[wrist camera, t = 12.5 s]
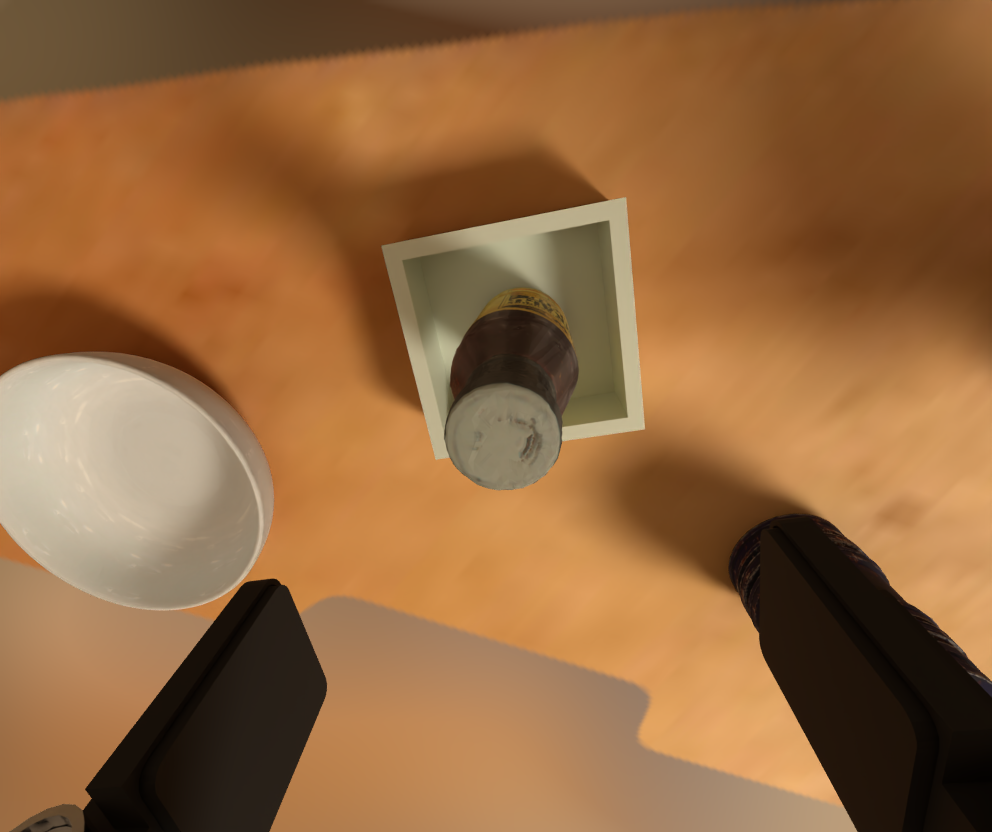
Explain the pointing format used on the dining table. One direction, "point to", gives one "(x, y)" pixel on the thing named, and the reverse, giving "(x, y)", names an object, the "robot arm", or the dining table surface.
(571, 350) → the sauce bottle
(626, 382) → the bin
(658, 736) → the dining table surface
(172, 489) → the serving bowl
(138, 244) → the dining table surface
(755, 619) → the rusty oil drum
